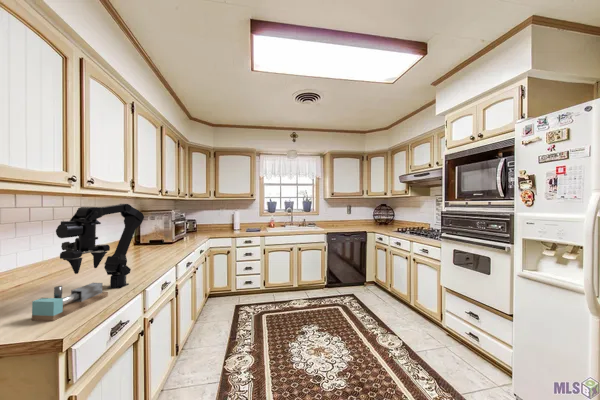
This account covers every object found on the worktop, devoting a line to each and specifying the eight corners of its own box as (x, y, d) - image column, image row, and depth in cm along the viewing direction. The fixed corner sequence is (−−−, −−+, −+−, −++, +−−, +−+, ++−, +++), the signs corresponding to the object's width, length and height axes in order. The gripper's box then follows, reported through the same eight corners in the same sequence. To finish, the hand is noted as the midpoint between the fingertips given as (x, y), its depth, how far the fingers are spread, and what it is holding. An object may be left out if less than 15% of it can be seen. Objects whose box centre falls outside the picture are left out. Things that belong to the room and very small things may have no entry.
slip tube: (77, 297, 102) (78, 278, 102) (84, 297, 102) (85, 279, 102) (43, 311, 89) (43, 290, 89) (50, 311, 89) (51, 290, 89)
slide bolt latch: (90, 295, 111) (91, 281, 111) (107, 296, 111) (108, 282, 111) (31, 320, 88) (32, 302, 88) (53, 320, 87) (53, 303, 88)
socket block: (41, 311, 91) (42, 297, 91) (62, 311, 91) (62, 298, 91) (31, 315, 88) (32, 301, 88) (53, 315, 87) (53, 301, 88)
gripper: (88, 232, 118) (87, 265, 118) (47, 237, 100) (46, 276, 99) (111, 232, 118) (110, 265, 118) (73, 238, 99) (72, 277, 99)
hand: (86, 270), depth 108 cm, fingers open, 9 cm apart
